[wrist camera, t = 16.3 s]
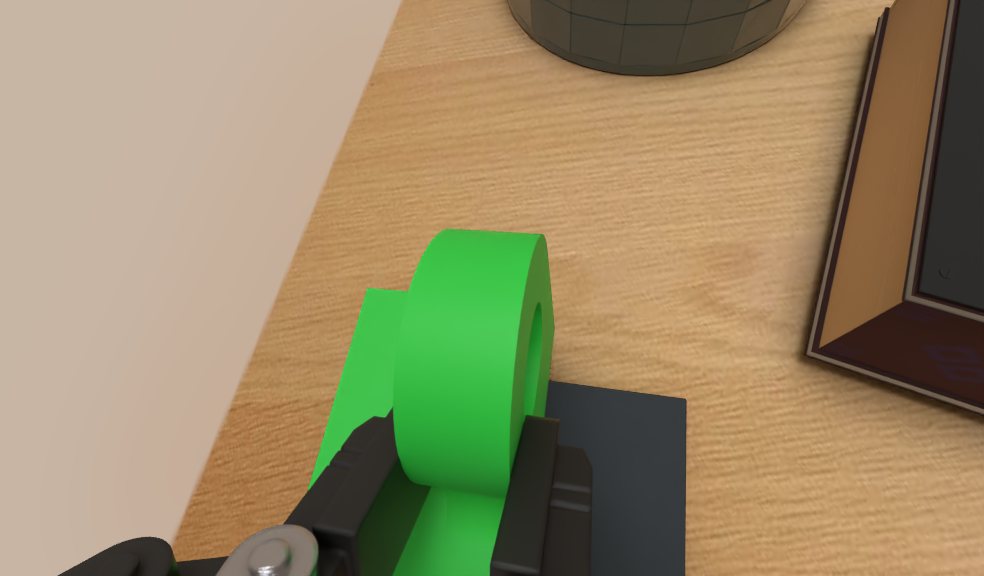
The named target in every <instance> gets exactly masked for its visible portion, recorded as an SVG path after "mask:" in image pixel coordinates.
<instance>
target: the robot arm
mask: <svg viewBox="0 0 984 576" xmlns="http://www.w3.org/2000/svg"><path fill="white" fill-rule="evenodd" d="M559 427H560V419H553V418H546V417H539V416H532V415H526V416H525V420H524V424H523V428H522V432H521V437H520V441H519V445H518V449H517V453H516V457H515V462H514V466H513V470H512V474H511V478H510V482H509V487H508V491H507V495H506V499H505V503H504V507H503V512H502V516H501V520H500V524H499V528H498V532H497V537H496V541H495V545H494V549H493V553H492V557H491V562H490V576H591V534H592V490H593V468H592V466H591V464H590V462H589V460H588V458H587V456H586V454H585V452H584V450H583V449H582V448H576V447H570V446H563V445H558V439H559ZM430 489H431V486H426V485H420V484H416V483H414V482H412V481H411V480H410V479H409V478H408V477H407V475H406V474H405V472H404V470H403V468H402V465H401V461H400V458H399V456H398V451H397V447H396V440H395V432H394V420H393V407H392V409H391V410H390V411H389V413H388V414H387V416H386V417H385V418H384V417H378V416H373V417H372V418H370V419H369V420H367V421H366V422H364V423H363V424H361V425H360V426H358V427H357V428H356V429H354V430H353V432H352V433H351V434H350V436H349V437H348V438H347V440H346V441H345V442H344V444H343V445H342V446H341V450H340V451H339V450H338V452H337V453H336V454H335V456H334V457H333V458H332V460H331V461H330V465H329V466H328V465H327V466H326V468H325V469H324V470H323V472H322V473H321V474H320V476H319V477H318V478H317V480H316V481H315V482H314V484H313V485H312V486H311V488H310V489H309V491H308V492H307V493H306V495H305V496H304V497H303V499H302V500H301V501H300V503H299V504H298V505H297V507H296V508H295V509H294V511H293V512H292V513H291V515H290V516H289V517H288V519H287V520H286V521H285V523H284V524H283V525H277V526H273V527H269V528H267V529H264V530H262V531H259V532H257V533H255V534H254V535H252V536H250V537H249V538H247V539H246V540H245V541H243V542H242V543H241V544H240V545H239V546H238V547H237V548H236V549H235V550H234V551H233V552H232V553H231V555H230V556H226V557H219V558H210V559H200V560H191V561H181V562H176V560H175V557H174V554H173V551H172V549H171V546H170V545H169V544H168V543H167V542H166V541H164V540H163V539H160V538H156V537H141V538H135V539H131V540H128V541H124V542H121V543H119V544H116V545H114V546H112V547H110V548H108V549H106V550H104V551H102V552H100V553H98V554H97V555H95V556H93V557H91V558H89V559H88V560H85V561H84V562H82V563H80V564H78V565H77V566H74V567H73V568H71V569H69V570H67V571H65V572H63V573H62V574H60V575H58V576H393V573H394V571H395V569H396V567H397V564H398V562H399V560H400V557H401V555H402V553H403V551H404V548H405V546H406V544H407V541H408V539H409V537H410V535H411V532H412V530H413V528H414V525H415V523H416V521H417V519H418V516H419V514H420V512H421V509H422V507H423V505H424V503H425V500H426V498H427V496H428V493H429V491H430Z"/></svg>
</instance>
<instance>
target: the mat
mask: <svg viewBox="0 0 984 576" xmlns="http://www.w3.org/2000/svg"><path fill="white" fill-rule="evenodd" d="M686 402H687V401H686V399H683V398H675V397H668V396H660V395H653V394H645V393H638V392H630V391H623V390H615V389H608V388H600V387H593V386H585V385H578V384H570V383H563V382H555V381H548V390H547V399H546V408H545V416H544V417H546V418H553V419H560V427H559V439H558V445H563V446H570V447H576V448H582V449H583V450H584V452H585V454H586V456H587V458H588V460H589V462H590V464H591V466H592V468H593V490H592V534H591V576H685V518H686Z"/></svg>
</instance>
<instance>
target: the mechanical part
mask: <svg viewBox="0 0 984 576" xmlns="http://www.w3.org/2000/svg"><path fill="white" fill-rule="evenodd" d="M554 328H555V327H554V316H553V305H552V294H551V283H550V273H549V262H548V251H547V244H546V239H545V237H544V235H543V234H529V233H512V232H496V231H479V230H462V229H446V230H443V231H441V232H440V233H438V234H437V235H436V236H435V237H434V238H433V240H432V241H431V242H430V244H429V245H428V247H427V249H426V250H425V252H424V254H423V256H422V258H421V260H420V262H419V264H418V267H417V269H416V271H415V274H414V277H413V280H412V282H411V285H410V288H409V292H408V291H397V290H385V289H374V288H367V291H366V294H365V298H364V301H363V305H362V308H361V311H360V315H359V318H358V322H357V325H356V328H355V332H354V335H353V339H352V342H351V345H350V349H349V352H348V356H347V359H346V362H345V366H344V369H343V373H342V376H341V379H340V383H339V386H338V390H337V393H336V396H335V400H334V403H333V407H332V410H331V413H330V417H329V420H328V424H327V427H326V430H325V434H324V437H323V441H322V444H321V447H320V451H319V454H318V458H317V461H316V464H315V468H314V471H313V475H312V478H311V481H310V485H309V488H308V491H309V489H310V488H311V486H312V485H313V484H314V482H315V481H316V480H317V478H318V477H319V476H320V474H321V473H322V472H323V470H324V469H325V468H326V466H327V465H328V466H329V465H330V461H331V460H332V458H333V457H334V456H335V454H336V453H337V452H338V450H339V451H340V450H341V446H342V445H343V444H344V442H345V441H346V440H347V438H348V437H349V436H350V434H351V433H352V432H353V430H354V429H356V428H357V427H358V426H360V425H361V424H363V423H364V422H366V421H367V420H369V419H370V418H372V417H373V416H378V417H384V418H385V417H386V416H387V414H388V413H389V411H390V410H391V409H392V407H393V420H394V432H395V440H396V447H397V451H398V456H399V458H400V461H401V465H402V468H403V470H404V472H405V474H406V475H407V477H408V478H409V479H410V480H411V481H412V482H414V483H416V484H420V485H426V486H431V489H430V491H429V493H428V496H427V498H426V500H425V503H424V505H423V507H422V509H421V512H420V514H419V516H418V519H417V521H416V523H415V525H414V528H413V530H412V532H411V535H410V537H409V539H408V541H407V544H406V546H405V548H404V551H403V553H402V555H401V557H400V560H399V562H398V564H397V567H396V569H395V571H394V573H393V576H490V562H491V557H492V553H493V549H494V545H495V541H496V537H497V532H498V528H499V524H500V520H501V516H502V512H503V507H504V503H505V499H506V495H507V491H508V487H509V482H510V478H511V474H512V470H513V466H514V462H515V457H516V453H517V449H518V445H519V441H520V437H521V432H522V428H523V424H524V420H525V416H526V415H532V416H539V417H544V416H545V408H546V399H547V390H548V381H549V372H550V364H551V355H552V346H553V337H554Z"/></svg>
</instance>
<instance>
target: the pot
mask: <svg viewBox="0 0 984 576" xmlns="http://www.w3.org/2000/svg"><path fill="white" fill-rule="evenodd" d="M805 1H806V0H508V3H509V6H510V8H511V10H512V12H513V14H514V16H515V18H516V20H517V21H518V22H519V24H520V25H521V27H522V28H523V29H524V30H525V31H526V32H527V33H528V34H529V35H530V36H531V37H532V38H533V39H534V40H535V41H536V42H538V43H539V44H541V45H542V46H543V47H545V48H546V49H548V50H549V51H551V52H553V53H555V54H557V55H558V56H560V57H562V58H564V59H567V60H569V61H572V62H574V63H577V64H580V65H582V66H586V67H590V68H593V69H597V70H601V71H607V72H613V73H619V74H630V75H669V74H676V73H684V72H691V71H695V70H700V69H704V68H709V67H713V66H716V65H719V64H722V63H725V62H728V61H731V60H733V59H735V58H738V57H740V56H742V55H744V54H746V53H748V52H751V51H753V50H754V49H756V48H757V47H759V46H761V45H762V44H764V43H766V42H767V41H769V40H770V39H771V38H773V37H774V36H775V35H776V34H778V33H779V32H780V31H781V30H783V29H784V28H785V27H786V26H787V25H788V23H789V22H790V21H791V20H792V19H793V18H794V17H795V16H796V15H797V13H798V11H799V10H800V8H801V7H802V5H803V4H804V2H805Z"/></svg>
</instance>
